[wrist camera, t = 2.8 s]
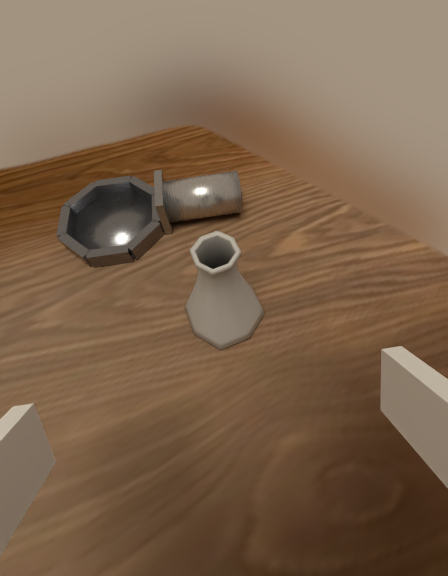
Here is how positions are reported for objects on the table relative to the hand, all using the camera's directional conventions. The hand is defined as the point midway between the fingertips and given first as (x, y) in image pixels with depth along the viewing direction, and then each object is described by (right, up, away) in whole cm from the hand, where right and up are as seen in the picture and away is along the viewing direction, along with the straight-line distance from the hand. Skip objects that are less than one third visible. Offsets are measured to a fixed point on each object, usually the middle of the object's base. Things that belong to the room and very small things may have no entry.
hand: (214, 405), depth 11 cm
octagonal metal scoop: (-8, +13, +23) cm, 27 cm away
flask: (0, +2, +17) cm, 17 cm away
